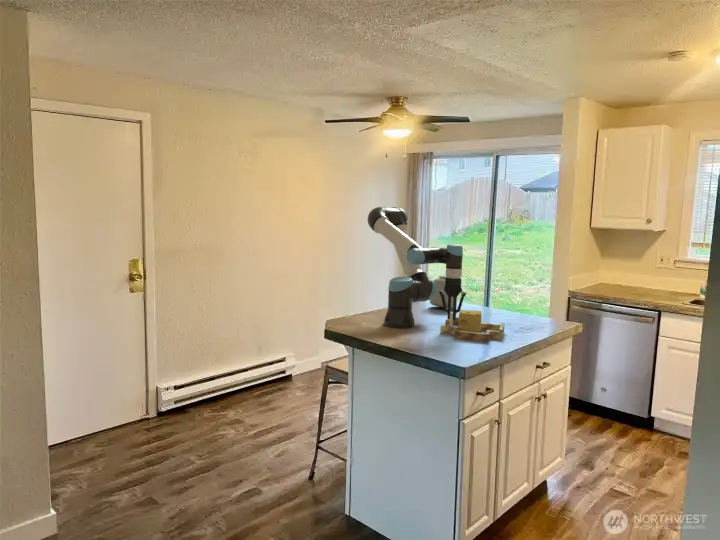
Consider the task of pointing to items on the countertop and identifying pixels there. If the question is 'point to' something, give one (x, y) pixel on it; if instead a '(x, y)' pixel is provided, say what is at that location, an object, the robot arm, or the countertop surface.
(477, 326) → the cheese
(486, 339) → the trap lane
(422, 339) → the countertop surface
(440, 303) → the jar
